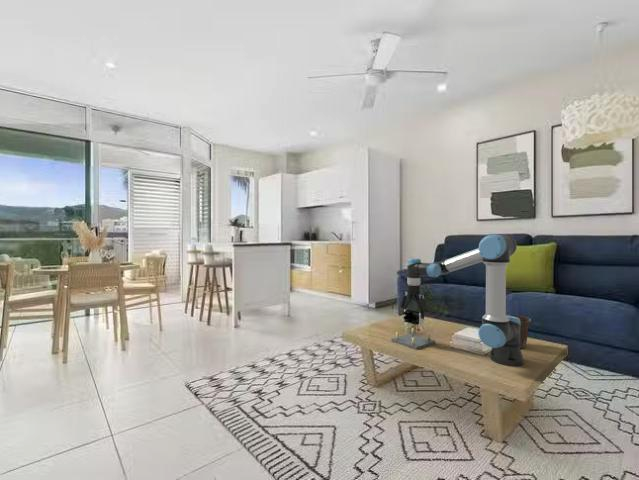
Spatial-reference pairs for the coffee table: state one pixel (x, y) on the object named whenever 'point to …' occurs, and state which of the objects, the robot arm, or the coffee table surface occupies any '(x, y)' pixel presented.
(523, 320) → the plant pot
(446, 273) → the robot arm
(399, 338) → the standoff plate
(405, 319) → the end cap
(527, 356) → the coffee table surface
